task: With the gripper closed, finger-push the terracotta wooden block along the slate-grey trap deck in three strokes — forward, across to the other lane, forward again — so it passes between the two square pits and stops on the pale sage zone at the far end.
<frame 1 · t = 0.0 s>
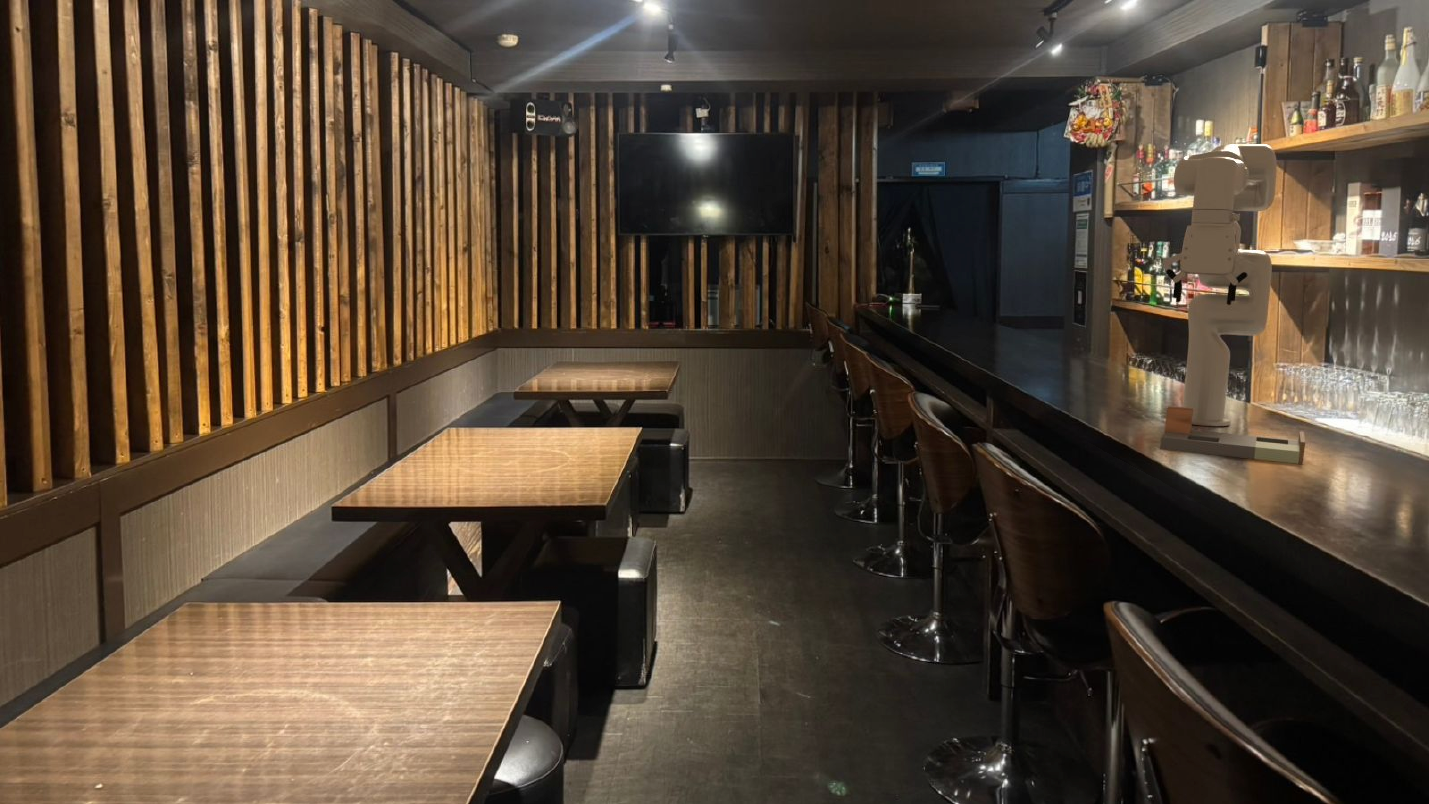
hand: (1203, 303, 229), 31 cm above the bar counter, fingers open, 9 cm apart
block: (1178, 431, 243), point 2 cm above the bar counter, touching deck
deck: (1228, 450, 235), on the bar counter
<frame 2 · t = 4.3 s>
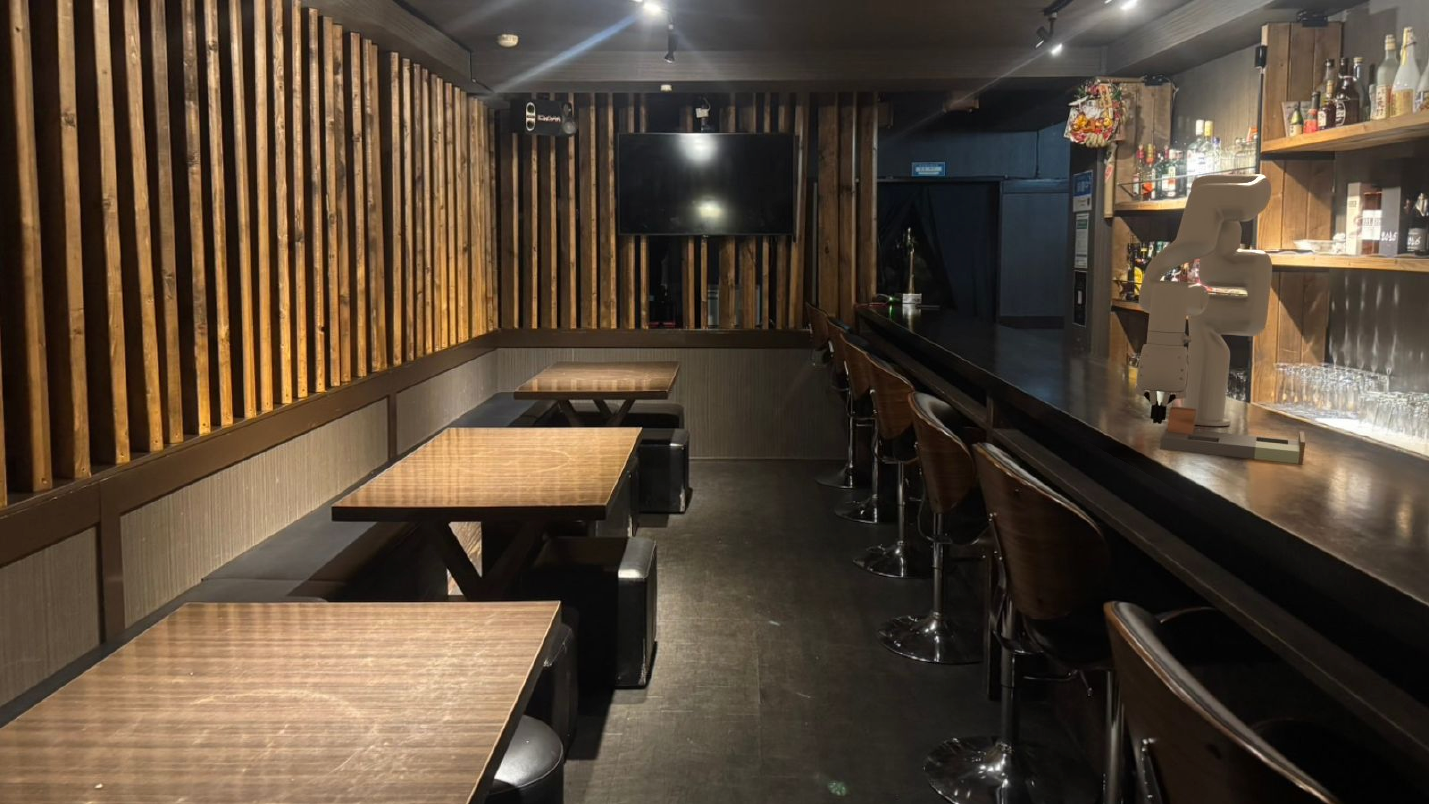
hand: (1157, 422, 244), 4 cm above the bar counter, fingers closed
block: (1180, 431, 242), point 3 cm above the bar counter, touching gripper
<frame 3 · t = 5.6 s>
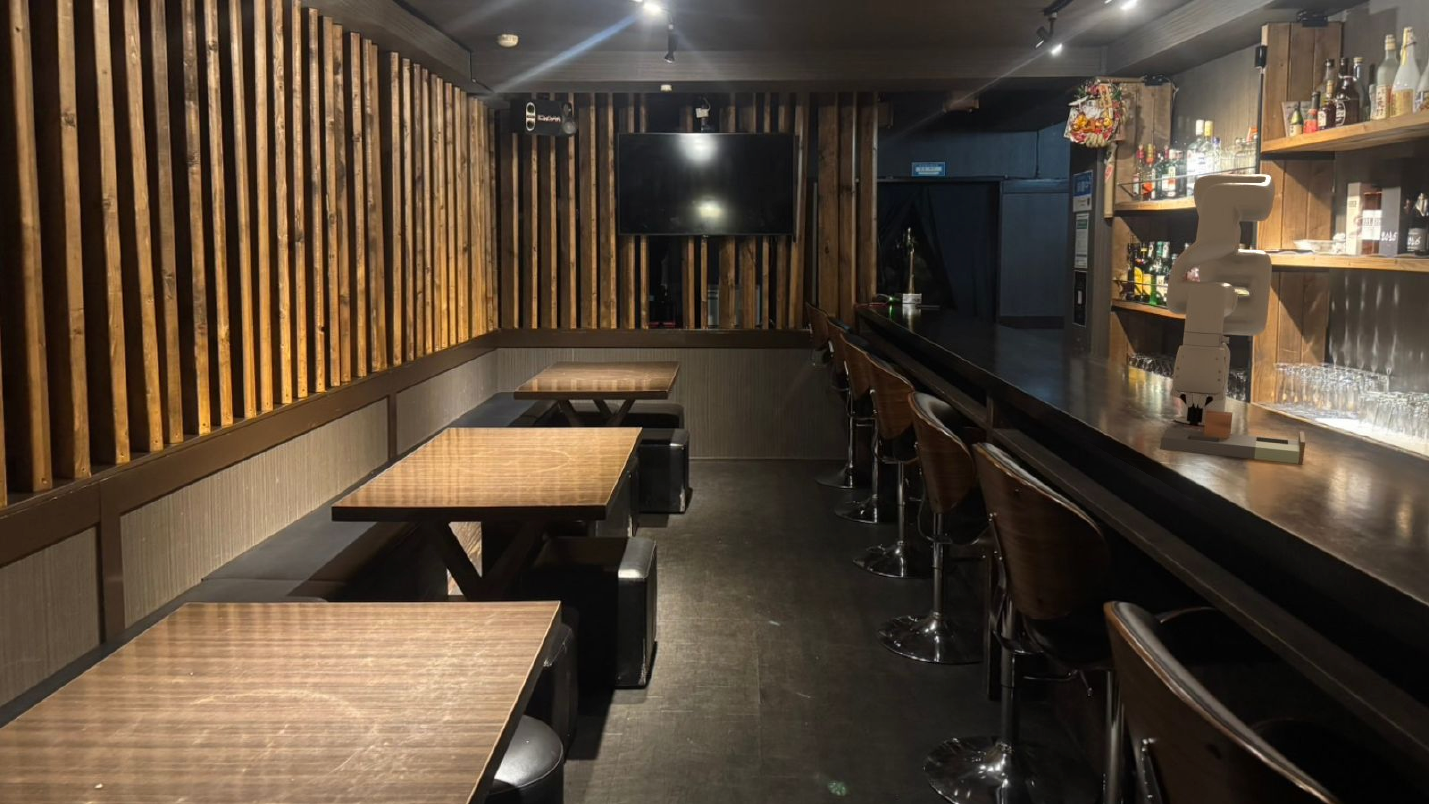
hand: (1193, 425, 241), 4 cm above the bar counter, fingers closed
block: (1216, 435, 239), point 3 cm above the bar counter, touching gripper
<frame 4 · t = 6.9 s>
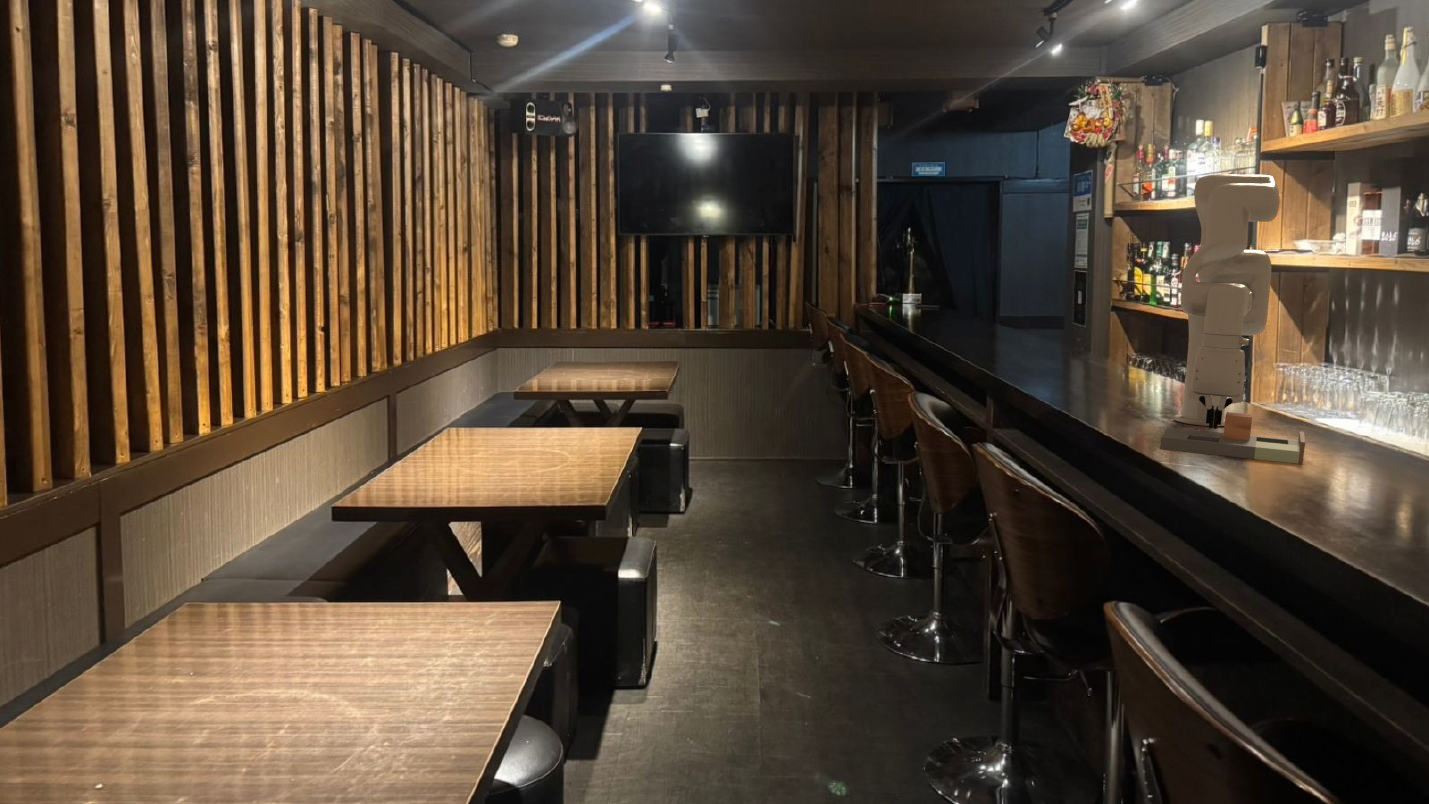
hand: (1213, 427, 239), 4 cm above the bar counter, fingers closed
block: (1236, 437, 237), point 2 cm above the bar counter, touching deck, gripper
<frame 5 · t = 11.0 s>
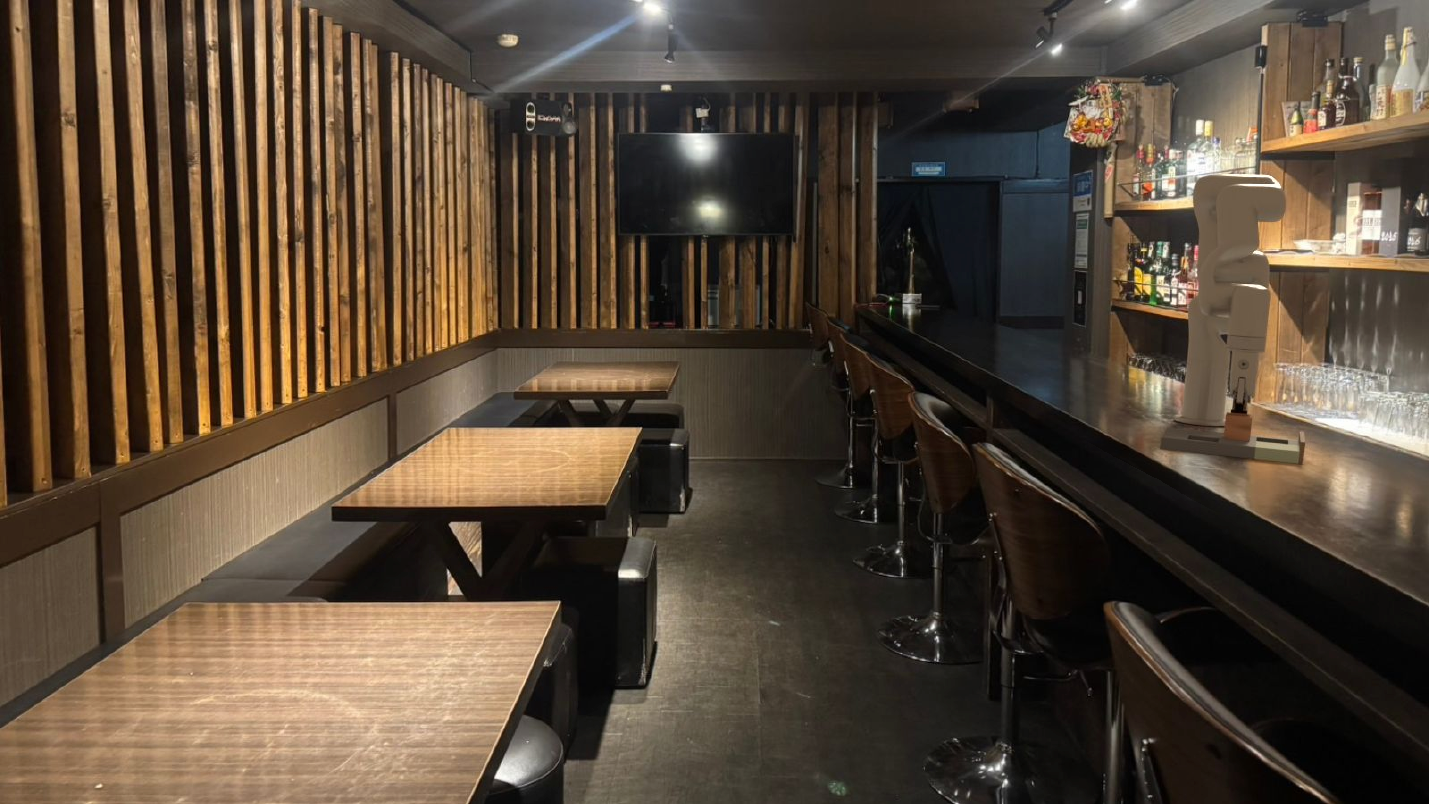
hand: (1237, 428, 241), 4 cm above the bar counter, fingers closed
nothing on the bar counter moved.
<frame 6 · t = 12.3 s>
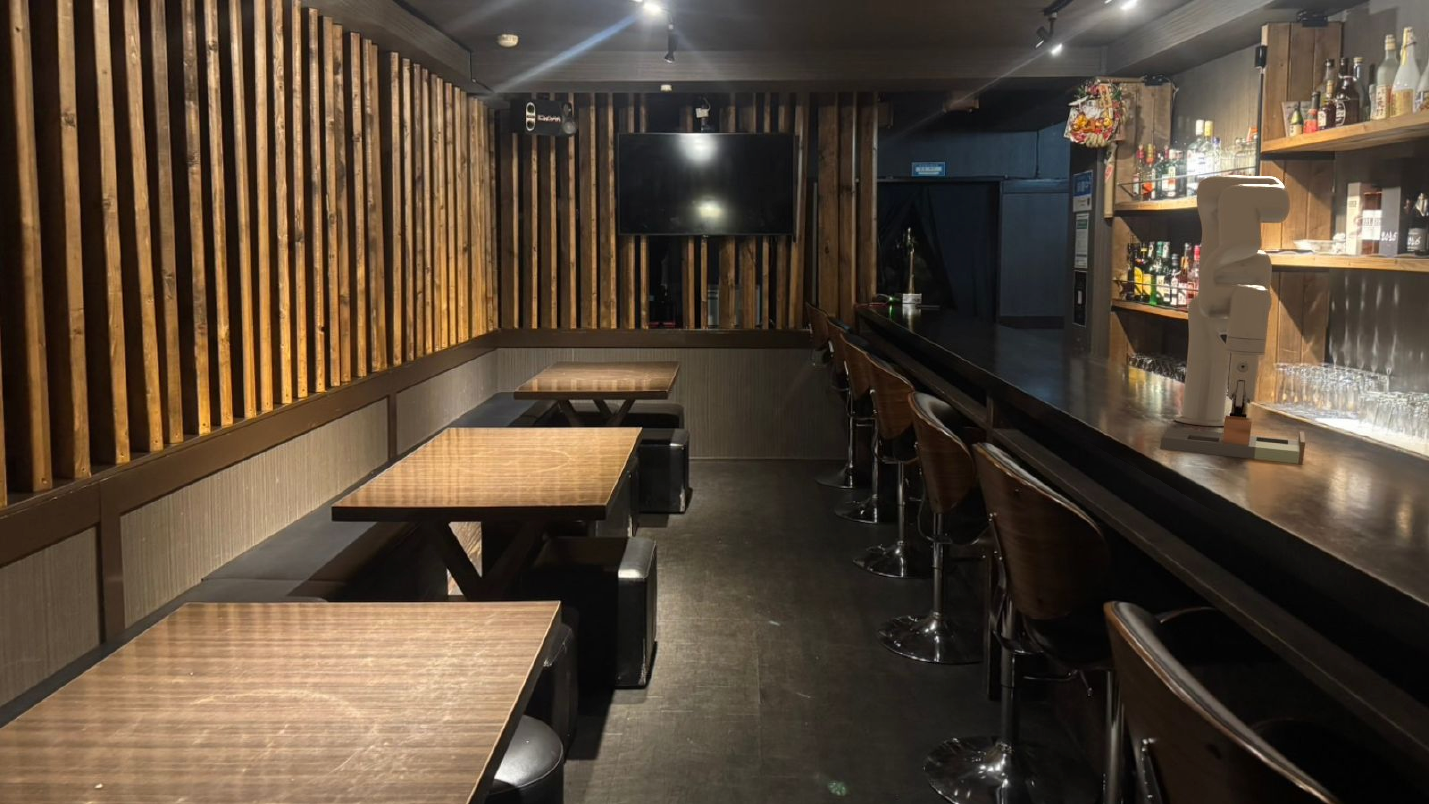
hand: (1236, 432, 236), 4 cm above the bar counter, fingers closed
block: (1236, 442, 231), point 2 cm above the bar counter, touching deck, gripper
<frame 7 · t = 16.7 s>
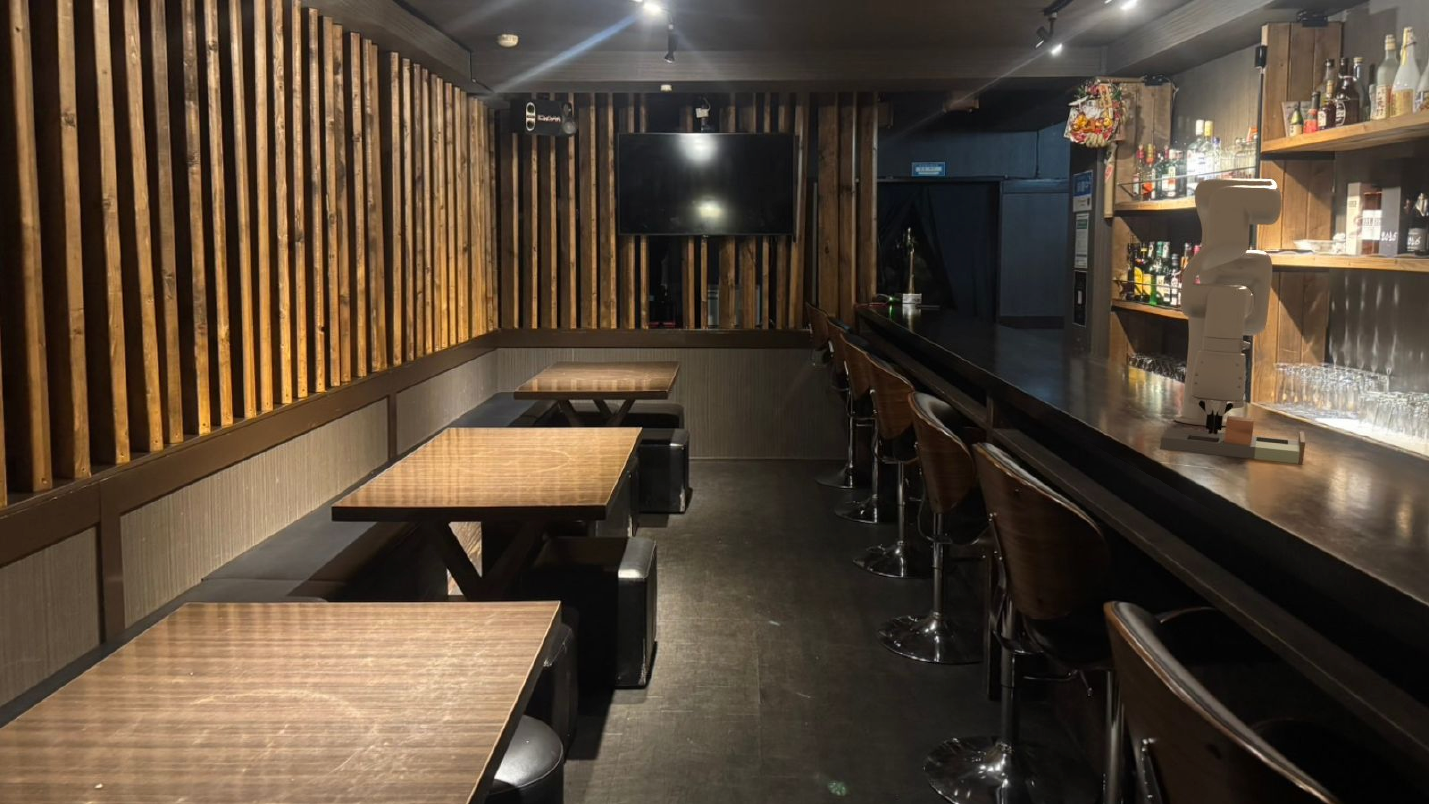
hand: (1213, 433, 233), 4 cm above the bar counter, fingers closed
block: (1237, 442, 231), point 3 cm above the bar counter, touching gripper
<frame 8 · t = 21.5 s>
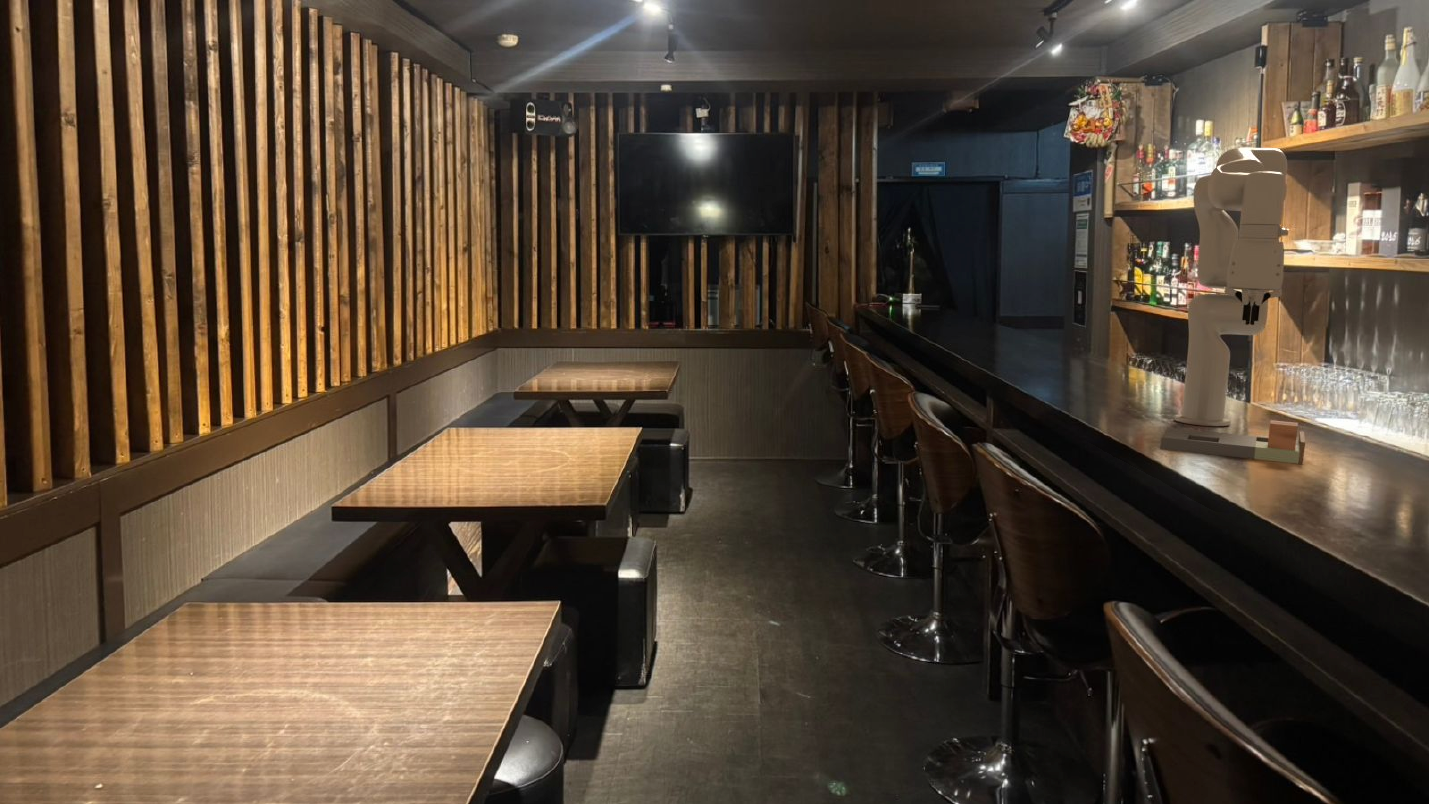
hand: (1249, 324, 228), 27 cm above the bar counter, fingers closed
block: (1281, 447, 227), point 2 cm above the bar counter, touching deck
at the end: block 0.5 cm from the target spot on the deck, point 2.5 cm above the deck's base; block tilted 0° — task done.
